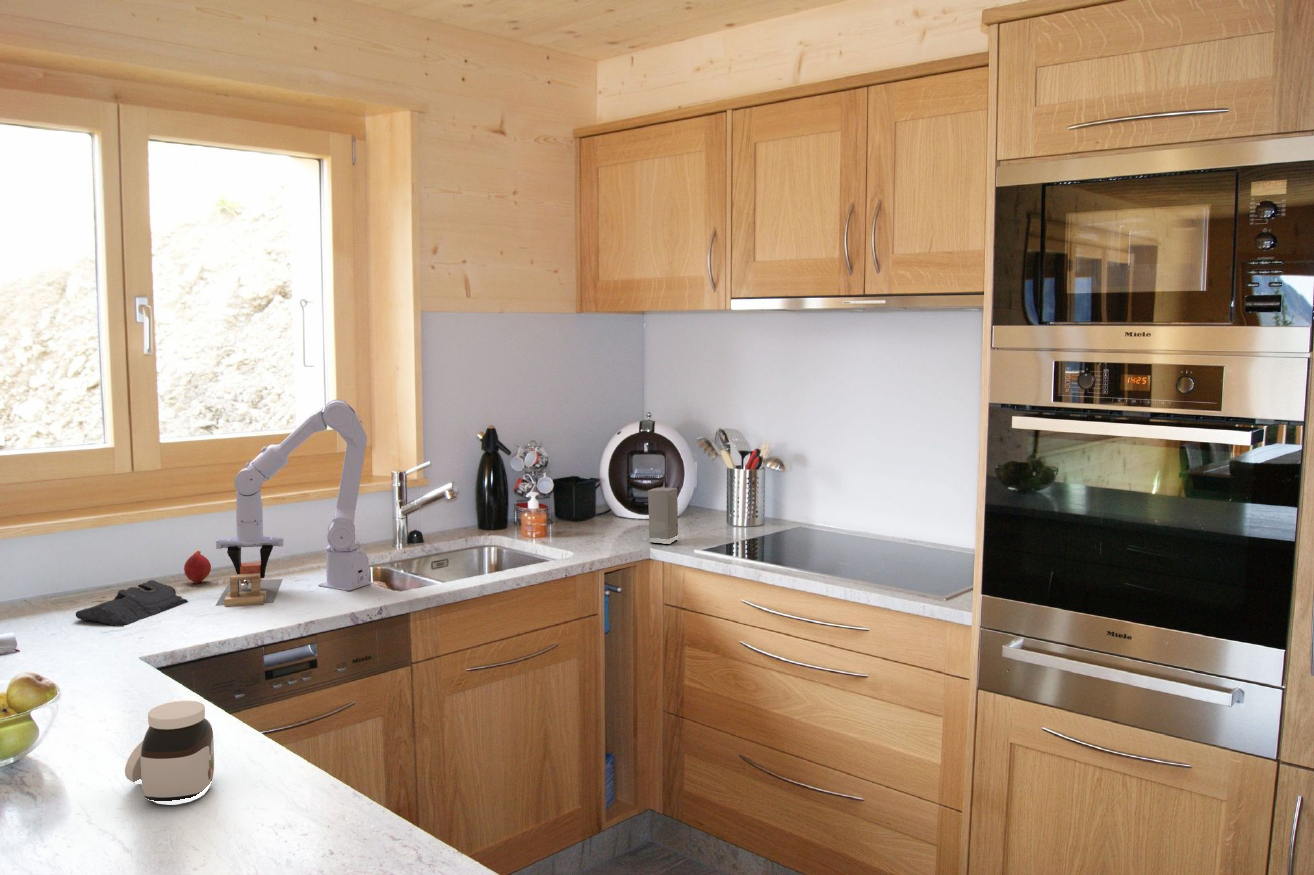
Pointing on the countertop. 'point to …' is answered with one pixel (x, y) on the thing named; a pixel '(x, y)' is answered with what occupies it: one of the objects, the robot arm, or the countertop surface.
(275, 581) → the gray panel
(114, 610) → the black folded cloth
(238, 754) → the countertop surface
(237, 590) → the wooden arch frame
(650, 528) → the skincare box
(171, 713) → the spread jar
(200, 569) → the onion
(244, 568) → the copper cube mallet
